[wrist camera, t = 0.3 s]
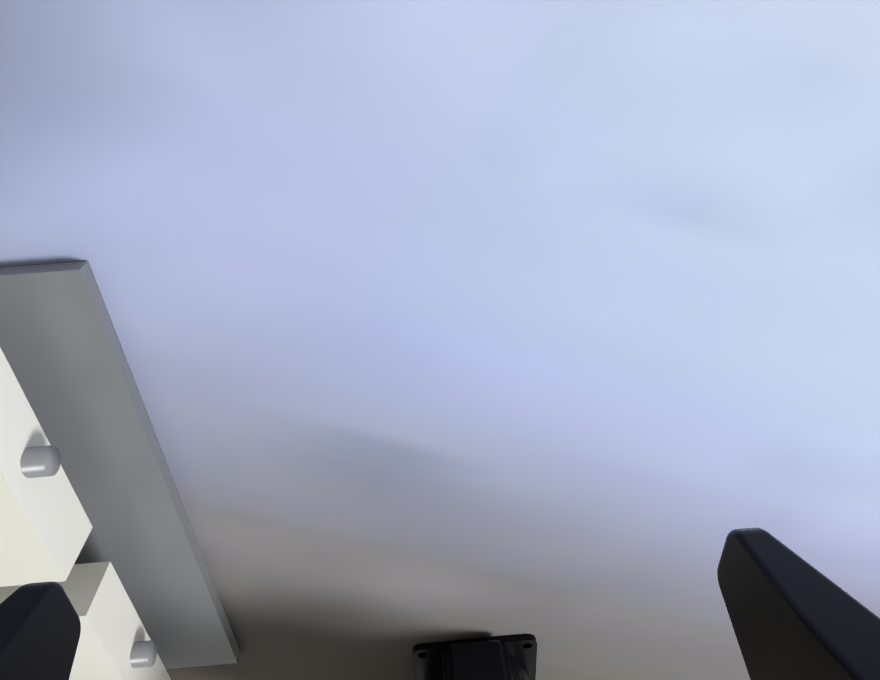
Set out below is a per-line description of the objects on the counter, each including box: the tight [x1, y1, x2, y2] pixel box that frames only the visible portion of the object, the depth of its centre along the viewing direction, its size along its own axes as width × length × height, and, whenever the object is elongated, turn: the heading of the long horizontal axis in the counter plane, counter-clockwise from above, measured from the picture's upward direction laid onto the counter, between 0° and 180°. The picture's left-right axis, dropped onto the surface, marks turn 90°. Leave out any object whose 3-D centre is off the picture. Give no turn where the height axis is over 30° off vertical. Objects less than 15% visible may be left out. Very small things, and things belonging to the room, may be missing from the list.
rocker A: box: [0, 561, 171, 680], centre depth 27 cm, size 9×12×2 cm
